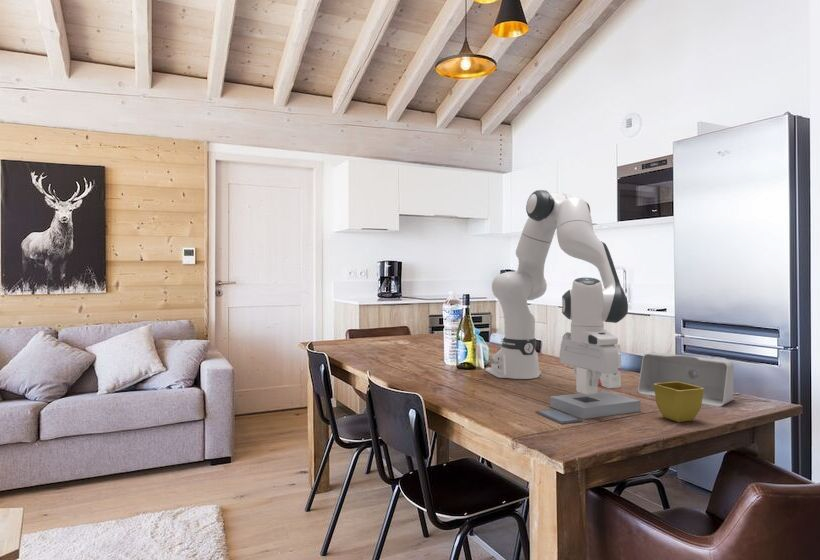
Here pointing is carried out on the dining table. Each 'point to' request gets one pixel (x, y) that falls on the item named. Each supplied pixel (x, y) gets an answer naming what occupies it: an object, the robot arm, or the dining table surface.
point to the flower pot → (678, 400)
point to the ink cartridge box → (612, 375)
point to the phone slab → (558, 416)
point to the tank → (688, 375)
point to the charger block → (584, 381)
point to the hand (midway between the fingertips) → (586, 384)
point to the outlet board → (594, 404)
